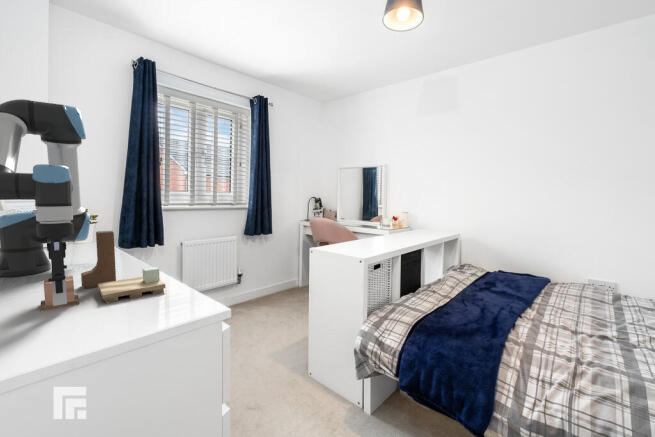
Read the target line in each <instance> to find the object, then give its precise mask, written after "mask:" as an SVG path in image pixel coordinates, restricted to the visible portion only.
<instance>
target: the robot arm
mask: <svg viewBox="0 0 655 437" xmlns="http://www.w3.org/2000/svg"><path fill="white" fill-rule="evenodd" d="M82 116H83V115H82V112H81V110H80V109H79V108H77V107H75V106H70V105H67V104H61V103H60V104H59V103H53V102H45V101H35V100H30V99H19V98H18V99H12V100H9V101H5V102H3V103H0V201H1V200H2V201H5V200H6V201H7V200H8V201H14V200H18V201H19V200H20V201H22V200H24V201H25V200H30V201H31V200H32V201H33V200H34V206H35V209H33V210H31V211H23V212H14V213H13V212H12V213H6V214H2V215H1V216H0V277H1V278H9V277H11V278H13V277H22V276H29V275H35V274H40V273H45V272H47V271H49V270H51V277H50V278H47V279H48V282H52V294H53V306H57V305H62V304H67V294H66V279H65V278H66V276H67V275H65V274H66V272H65V271H66V270H65V269H68V265H67V264H65V258H66V254H67V253H66V250H67V243H74V242H81V241H86V240H87V239H88V238H89V232H90V223H91V213H89V212H87V211H86V208H85V207H83V206H82V205H81V193H80V192H81V190H80V177H79V175H80V174H79V159H78V158H79V157H78V147H80V145H82V144H83V143H82V140H86V139H87V135H86V131H85V126H84V121H83V117H82ZM26 135H35V136H40V141H41V142H42V143H43V144H45V145H46V149H47V151H46V152H47V160H48V164H47V163H45V164H43V163H42V164H41V163H40V164H34V165H33V168H32V173H30V172H29V173H28V172H24V173H23V172H17V169H18V163H19V162H18V161H19V157H20V150H21V144H22V140H23V138H24V137H25V136H26ZM44 244H45V245H46V251H47V253H48V254H46V253H45V249H44ZM47 255H48V256H47Z"/></svg>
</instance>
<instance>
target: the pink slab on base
mask: <svg viewBox="0 0 655 437" xmlns="http://www.w3.org/2000/svg"><path fill="white" fill-rule="evenodd" d="M48 279H49V278H45V279H44V281H43V293H44V294H43V295H44V300H40V304H39V305H40V306H39V308H40V309H39V311H40V312H43V311H47V310H53V309H59V308H60V309H61V308H65V307H70V306H71V307H72V306H77V305H80V297H79V294H75V285H74V284H75V282H74V275H66V278H65V279H66V294H67V304H62V305H57V306H53V294H52V282H48Z"/></svg>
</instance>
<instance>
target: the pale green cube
mask: <svg viewBox="0 0 655 437" xmlns="http://www.w3.org/2000/svg"><path fill="white" fill-rule="evenodd" d="M142 277H143V281H144V282H145V283H150V282H156V281H160V280H161V279H160V268H159V267H157V266H151V267H143V268H142Z"/></svg>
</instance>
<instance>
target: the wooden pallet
mask: <svg viewBox="0 0 655 437" xmlns="http://www.w3.org/2000/svg"><path fill="white" fill-rule="evenodd" d="M97 289H98V291H99V293H100V295H101V296H100V297H101V298H102V300H103V301H104V303H105V304H107V303H109V304H110V303H113V302H118V301H119V297H123V296H124V297H125V296H128V297H129V299H135V298H139V297H143V293H146V292H147V293H148V292H151V294H153V295H155V294H162V293H165V289H166V283H165V282H163V280H161V279H160V281H156V282H150V283H145V282H144V281H143V276H139V277H132V278H125V279H120V280H118V279H117V280H116V281H111V282H105V283H98V287H97Z"/></svg>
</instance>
